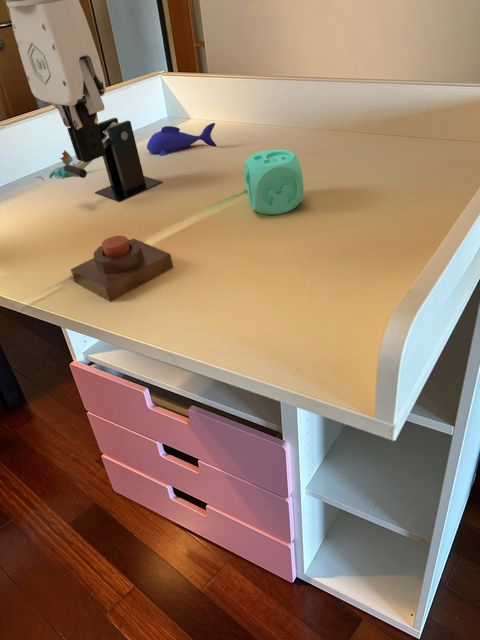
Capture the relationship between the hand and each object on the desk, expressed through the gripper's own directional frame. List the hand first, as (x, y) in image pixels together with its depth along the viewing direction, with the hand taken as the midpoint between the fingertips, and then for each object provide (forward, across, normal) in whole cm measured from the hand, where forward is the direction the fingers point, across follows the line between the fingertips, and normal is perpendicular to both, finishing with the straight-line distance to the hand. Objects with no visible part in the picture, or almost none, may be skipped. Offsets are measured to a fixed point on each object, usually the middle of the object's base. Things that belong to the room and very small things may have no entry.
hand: (91, 157), depth 70 cm
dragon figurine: (+17, -44, +16) cm, 50 cm away
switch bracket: (+17, -26, +19) cm, 36 cm away
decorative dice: (+17, +2, +29) cm, 34 cm away
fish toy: (+17, -34, +39) cm, 54 cm away
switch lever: (+9, -25, +15) cm, 31 cm away
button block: (+17, 0, 0) cm, 17 cm away
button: (+13, 0, 0) cm, 13 cm away
